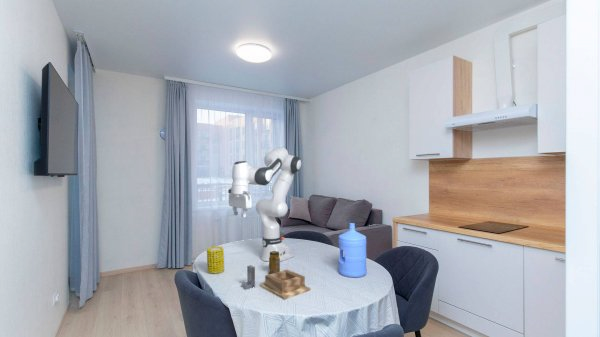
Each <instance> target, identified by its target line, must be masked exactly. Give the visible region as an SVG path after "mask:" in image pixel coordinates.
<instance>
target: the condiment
mask: <svg viewBox="0 0 600 337" xmlns="http://www.w3.org/2000/svg"><path fill="white" fill-rule="evenodd" d="M268 266H269V267H268V270H269V271H266V274H267V275H269V274H273V273H276V272H280V271H281V261H280V257H279V252H278V251H272V252H270V257H269V261H268Z"/></svg>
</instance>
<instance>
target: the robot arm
mask: <svg viewBox="0 0 600 337" xmlns="http://www.w3.org/2000/svg"><path fill="white" fill-rule="evenodd" d="M263 161H264V165H265V166H264V167H263V166H262V167H252V166H251V165H249V163H248V161H246V160H240V161H239V160H238V161H235V162H234V163H233V164H232V165H233V166H232V169H231V170H232V172H231V173H232V174H231V177H232V178H231V179H232V183H231V187H230V188H229V189H228V190H227V194H228V206H229V207H232V212H233V215H234V216H238V213H239V211H238V209H241V210H242V213H241V217H242V218H246V217H247V212H248V210H251V209H252V207H253V203H252V200H253V199H252V196H251V194H250V192H249V185H258V186H267V185H269V184H270V183H271V181H272V179H273V177H274V176H275V175H276V174H277V173H278V172H279V171H280V170H281V171H280V172H279V173H278V175H277V177H276V179H275V181H274V183H273V185H272V187H271V191H270V192H271V193H272V198H270V199H267V198H263V199H259V200H258V201H256V204H255V211H256V212H257V214H258V215H259V218H260V220H261V224H262V250H261V256H260V260H261V261H263V262H269V257H270V252H272V251H278V252H279V257H280V262H282V261H286V260H288V259H291V258H293V257H294V256H295V255H294V254H293V253H292V252H291V249H290V247H289V246H288V245H287V244H285V243H284V242H283V241H285V240H286V239H285V237H284V236H280V235H281V232H280V226H281V225H280V224H279V223H278V222H277V219H276V218H282V217H285V216H286V215H287V214H288V211H289V210H288V204H287V203H286V202H287V200H286V198H287V194H289V190H290V188H291V186H292V184H293V181H294V175H295V174H297V172H299V171H300V170H301V168H302V159H301V158H300V157H299V156H297V155H292V154H289V151H288V150H287V149H286V148H285V147H283V146H281V147H276V148H274V149H272V150H271V151H269V152H268V153H266V155H265V156H264V158H263Z"/></svg>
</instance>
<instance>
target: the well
mask: <svg viewBox="0 0 600 337" xmlns="http://www.w3.org/2000/svg"><path fill="white" fill-rule="evenodd" d="M305 280H306V276H304V275H302V274H299V273H297V272H295V271H293V270H290V269H288V268H287V269H284V270H280V272H276V273H273V274H265V276H264V282H263V283H260V284H259V286H260V288H262V289H264V290H266V291H268V292H269V293H271V294H272V295H275V296H277V297H279V298H281V299H282V300H284V301H285V300H287V299H290V298H293V297H295V296H298V295H301V294H304V293H307V292H309V291H311V287H309V286H307V285H306V281H305Z"/></svg>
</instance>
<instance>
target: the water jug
mask: <svg viewBox="0 0 600 337" xmlns="http://www.w3.org/2000/svg"><path fill="white" fill-rule="evenodd" d="M348 224H349V226H348V227H349V229H348V230H347V231H345V232H343V233H341V234H339V235H338V248H339V259H338V273H339V274H340V275H341V276H343V277H347V278H354V277H356V278H361V277H364V276H366V274H367V270H368V269H367V236H366V235H364V234H362V233H360V232H359V231H356V226H355V225H356V223H354V222H353V223H352V222H350V223H348Z"/></svg>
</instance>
